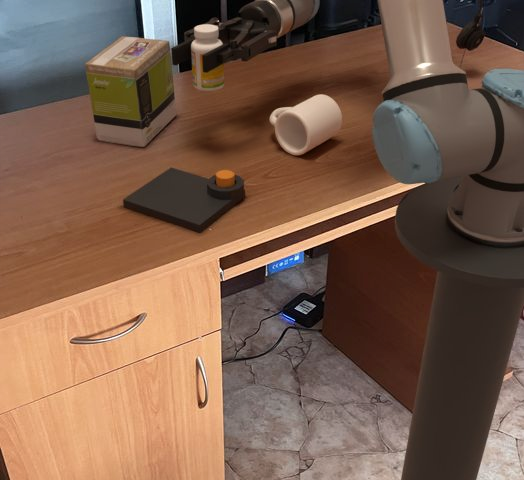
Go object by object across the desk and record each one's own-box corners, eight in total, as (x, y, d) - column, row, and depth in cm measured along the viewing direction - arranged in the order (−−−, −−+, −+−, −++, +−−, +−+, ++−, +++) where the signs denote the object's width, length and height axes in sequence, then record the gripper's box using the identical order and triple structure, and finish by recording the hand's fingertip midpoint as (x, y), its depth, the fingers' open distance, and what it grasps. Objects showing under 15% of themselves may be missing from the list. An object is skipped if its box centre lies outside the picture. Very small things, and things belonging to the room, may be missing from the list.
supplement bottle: (230, 84, 135) (229, 26, 129) (211, 94, 132) (209, 35, 126) (206, 77, 138) (203, 20, 132) (186, 87, 134) (183, 29, 128)
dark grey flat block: (250, 195, 130) (250, 179, 128) (202, 233, 120) (201, 216, 119) (174, 172, 136) (173, 156, 134) (123, 207, 127) (121, 190, 125)
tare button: (238, 182, 128) (238, 172, 126) (228, 190, 126) (227, 180, 124) (222, 177, 129) (222, 168, 128) (212, 185, 127) (212, 175, 126)
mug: (341, 142, 145) (344, 100, 140) (309, 161, 139) (311, 118, 134) (289, 124, 151) (290, 83, 146) (256, 142, 145) (256, 100, 140)
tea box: (131, 109, 156) (122, 33, 146) (177, 116, 153) (172, 39, 144) (95, 141, 145) (83, 61, 135) (144, 149, 143) (136, 68, 133)
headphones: (394, 68, 173) (405, -29, 160) (428, 57, 179) (441, -39, 166) (448, 89, 164) (464, -13, 151) (482, 76, 170) (500, -23, 157)
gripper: (307, 51, 142) (236, 94, 126) (222, 33, 149) (146, 72, 134) (308, 8, 137) (236, 47, 122) (220, -9, 144) (141, 26, 129)
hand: (189, 60), depth 128 cm, fingers closed on supplement bottle, 5 cm apart
